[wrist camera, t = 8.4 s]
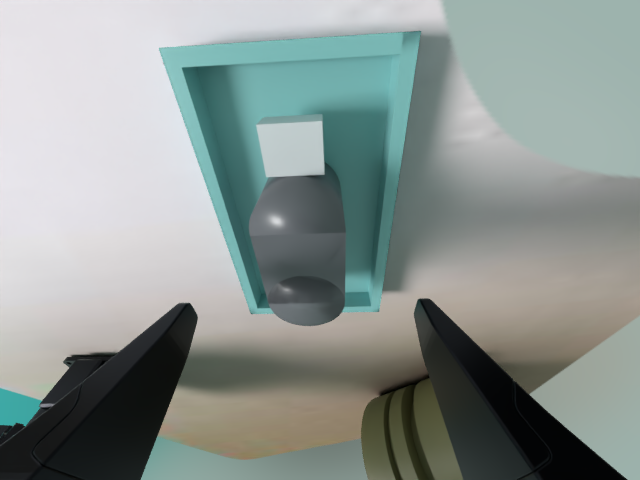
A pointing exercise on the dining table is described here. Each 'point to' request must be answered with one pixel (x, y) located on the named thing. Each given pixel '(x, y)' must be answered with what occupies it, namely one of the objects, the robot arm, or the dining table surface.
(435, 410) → the piston
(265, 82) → the tray
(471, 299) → the dining table surface
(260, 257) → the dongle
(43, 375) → the dining table surface
